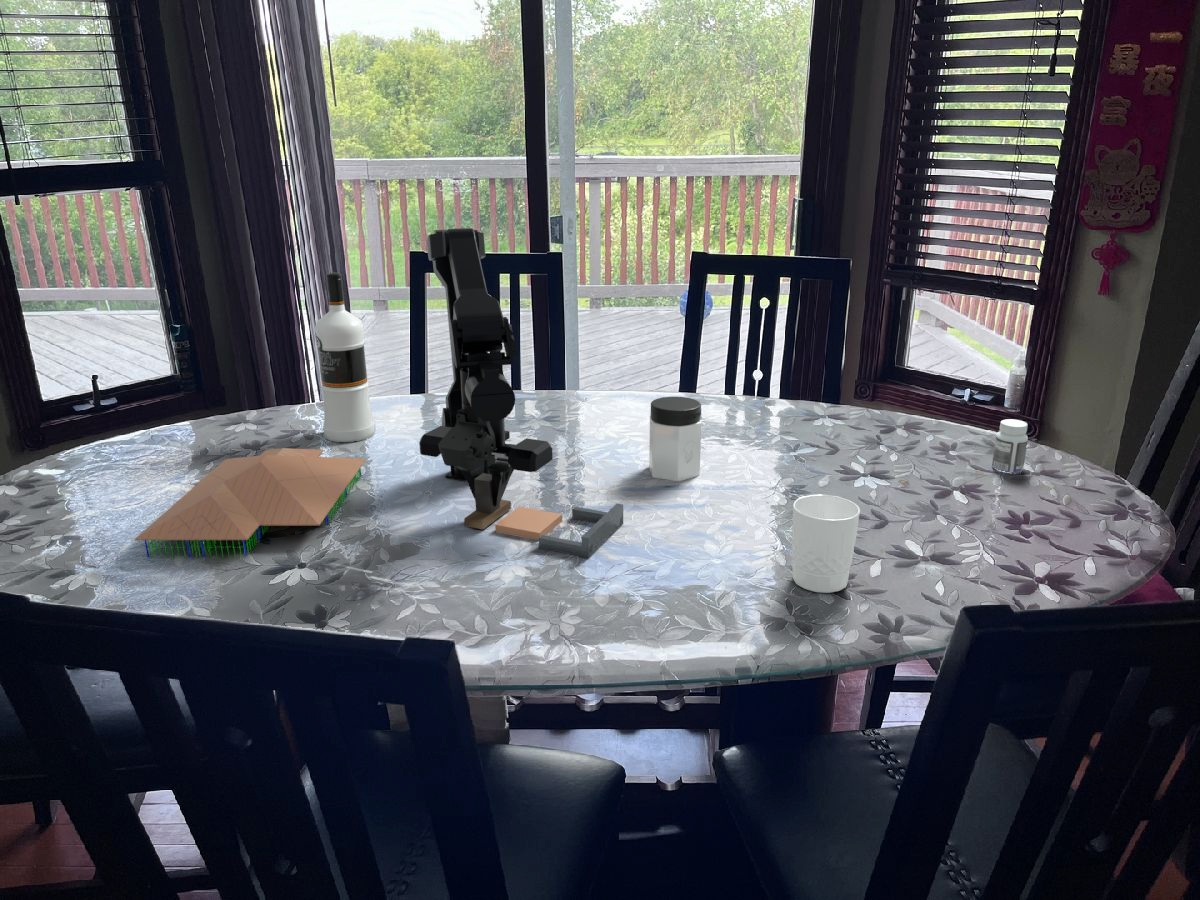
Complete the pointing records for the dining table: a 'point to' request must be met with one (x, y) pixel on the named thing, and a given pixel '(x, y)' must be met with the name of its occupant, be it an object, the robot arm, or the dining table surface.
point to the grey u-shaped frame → (593, 537)
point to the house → (256, 498)
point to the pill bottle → (1010, 446)
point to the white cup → (823, 541)
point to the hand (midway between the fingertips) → (488, 503)
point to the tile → (528, 523)
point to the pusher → (485, 504)
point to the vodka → (343, 370)
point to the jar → (675, 438)
